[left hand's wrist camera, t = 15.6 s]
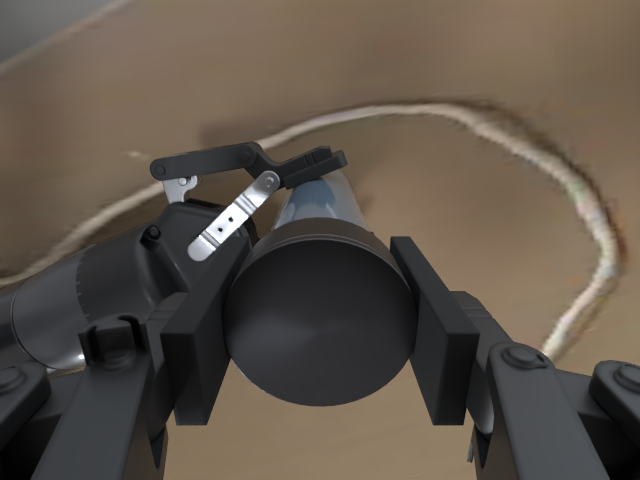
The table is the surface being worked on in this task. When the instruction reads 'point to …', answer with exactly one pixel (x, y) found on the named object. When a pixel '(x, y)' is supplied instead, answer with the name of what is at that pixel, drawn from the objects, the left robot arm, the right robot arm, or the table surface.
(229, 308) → the lid
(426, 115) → the table surface
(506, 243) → the table surface
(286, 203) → the bottle
